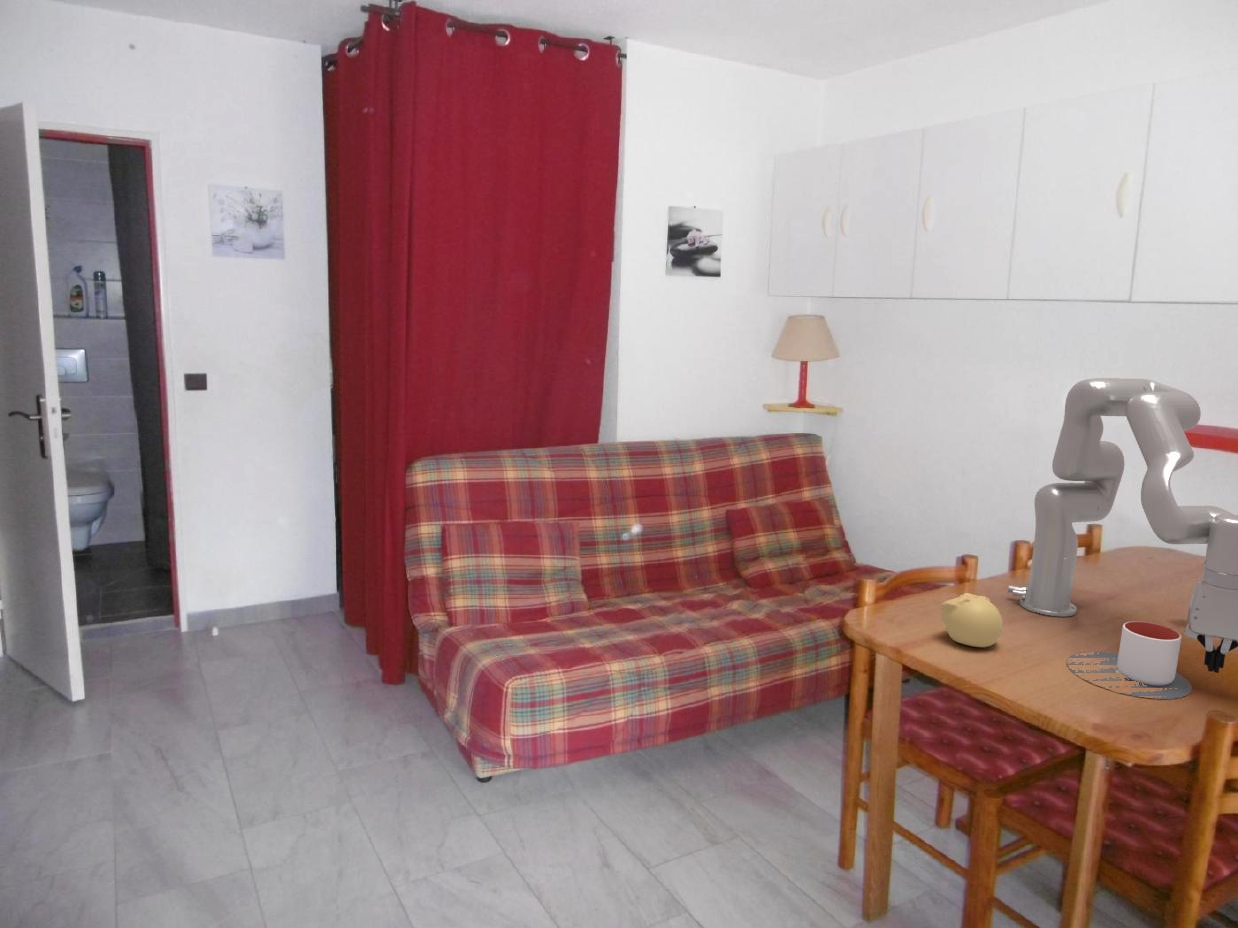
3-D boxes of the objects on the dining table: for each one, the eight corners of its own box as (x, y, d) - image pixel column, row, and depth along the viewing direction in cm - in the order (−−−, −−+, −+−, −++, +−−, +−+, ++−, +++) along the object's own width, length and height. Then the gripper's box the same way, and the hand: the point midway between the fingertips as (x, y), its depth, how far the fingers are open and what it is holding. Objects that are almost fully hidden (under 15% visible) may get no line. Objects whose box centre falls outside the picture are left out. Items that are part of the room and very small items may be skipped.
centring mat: (1063, 680, 168) (1063, 680, 168) (1069, 644, 187) (1069, 643, 187) (1195, 710, 157) (1195, 709, 157) (1187, 668, 176) (1188, 667, 176)
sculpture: (970, 628, 195) (975, 584, 193) (1011, 649, 184) (1017, 602, 182) (930, 634, 191) (935, 589, 188) (970, 655, 180) (975, 607, 178)
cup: (1119, 662, 178) (1126, 617, 176) (1175, 675, 172) (1183, 629, 170) (1113, 678, 170) (1120, 631, 168) (1171, 692, 164) (1179, 644, 162)
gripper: (1272, 581, 160) (1257, 671, 164) (1178, 567, 168) (1166, 655, 171) (1278, 591, 154) (1263, 685, 157) (1181, 577, 162) (1168, 667, 165)
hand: (1212, 669), depth 164 cm, fingers closed
